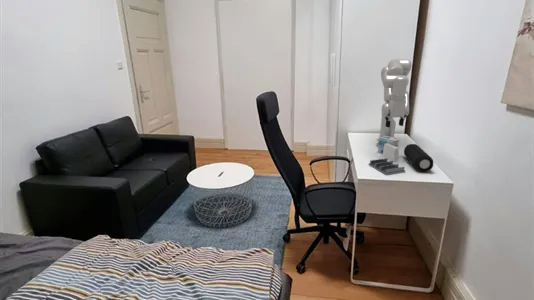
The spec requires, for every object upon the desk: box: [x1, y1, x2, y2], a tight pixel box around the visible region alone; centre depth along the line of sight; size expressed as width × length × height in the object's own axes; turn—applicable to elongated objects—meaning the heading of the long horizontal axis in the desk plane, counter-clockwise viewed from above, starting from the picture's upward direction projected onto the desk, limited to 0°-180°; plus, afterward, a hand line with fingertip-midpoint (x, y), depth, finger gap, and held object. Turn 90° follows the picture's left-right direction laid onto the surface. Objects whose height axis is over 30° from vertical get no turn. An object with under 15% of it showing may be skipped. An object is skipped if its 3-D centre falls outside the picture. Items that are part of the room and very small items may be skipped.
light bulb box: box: [377, 136, 400, 154], centre depth 195 cm, size 11×7×11 cm, turn 40°
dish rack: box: [368, 158, 406, 176], centre depth 171 cm, size 16×13×3 cm
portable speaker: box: [403, 143, 434, 173], centre depth 176 cm, size 26×10×10 cm, turn 172°
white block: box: [382, 143, 400, 163], centre depth 185 cm, size 10×3×9 cm, turn 17°
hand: (394, 126), depth 179 cm, fingers open, 9 cm apart
